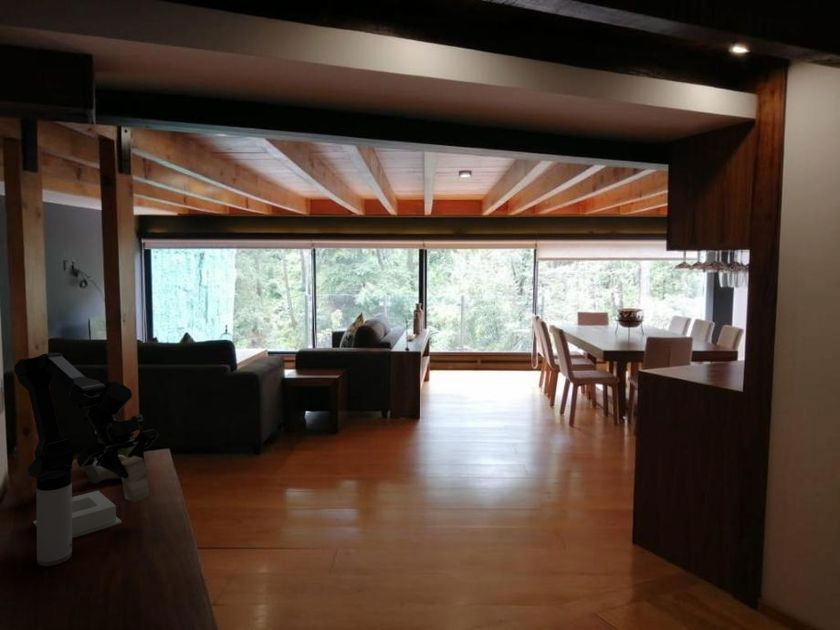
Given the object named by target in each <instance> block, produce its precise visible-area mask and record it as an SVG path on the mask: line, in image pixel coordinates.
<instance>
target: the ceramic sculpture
mask: <svg viewBox="0 0 840 630" xmlns="http://www.w3.org/2000/svg"><path fill="white" fill-rule="evenodd" d="M118 458H119V459H120V461H123V460H125V459H127V458H126V457H125V456H123V455H120V454H119V455H118ZM97 462H98V461H97V460H95V461H94V463H93V464H92V465H90V466H87V467H84V470H85V474H86V476H87V477H88V479H89V482H90V483H91V484H94V485H97V484H99V483H100V482H101V481H104V480H108V481H109V480H111V481H112V480H118V479H122V478H121V476H119V475H117V474H116V473H114V472H112V471H110V470H108V469H106V468H104V467H101V466H96V463H97Z"/></svg>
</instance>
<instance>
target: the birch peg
mask: <svg viewBox="0 0 840 630" xmlns="http://www.w3.org/2000/svg"><path fill="white" fill-rule="evenodd" d="M144 461H145V458H144V459H143V458H140V457H137V456H132V457H130V458H128V459H125V460H123V461H121V463H122V465H123V466H124V468H125V470H126V472H127V474H128V477H127V478H126V479H124V478H122V477H121V478H120V479H121V482H122V487H123V488H122V489H123V492H124V498H125V500H128V501H130V502H133V503H136V502H139V501H140V500H141V499H144V498H146V497H147V496H149V495H150V494H151V493H150V488H149V483H148V477H147V471H146V470H147V469H146V463H145V464H144Z"/></svg>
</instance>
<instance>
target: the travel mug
mask: <svg viewBox="0 0 840 630" xmlns="http://www.w3.org/2000/svg"><path fill="white" fill-rule="evenodd" d="M72 469H73V466H70V465H64V466H60V467H54V468H50V469H47V470H45V471H43V472H41V473H39V474H38V475H37V478H36V491H37V492H36V491H35V499H36V498H37V500H36V520H37V527H36V562H37V563H36V564H38V566H40V567H53V566H56V565H61V564H63V563H64V562H66V561H68V560H69V559H70V558H72V555H73V538H72V497H73V486H72V485H73V484H72V483H73V482H72V481H73V480H72Z"/></svg>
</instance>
